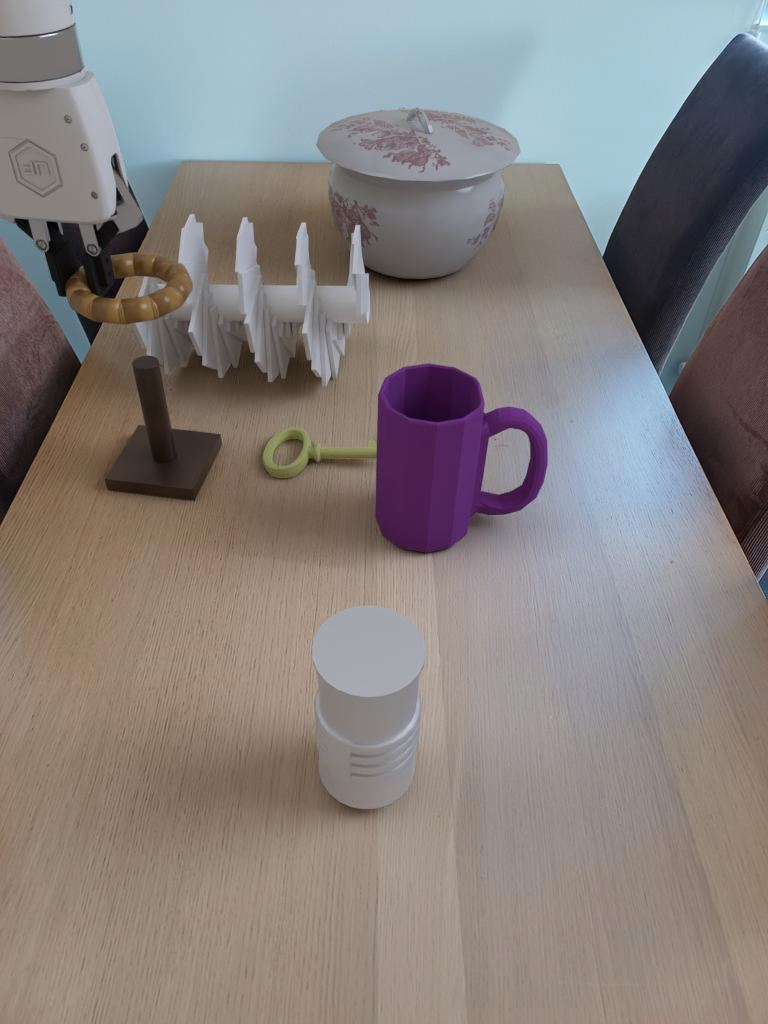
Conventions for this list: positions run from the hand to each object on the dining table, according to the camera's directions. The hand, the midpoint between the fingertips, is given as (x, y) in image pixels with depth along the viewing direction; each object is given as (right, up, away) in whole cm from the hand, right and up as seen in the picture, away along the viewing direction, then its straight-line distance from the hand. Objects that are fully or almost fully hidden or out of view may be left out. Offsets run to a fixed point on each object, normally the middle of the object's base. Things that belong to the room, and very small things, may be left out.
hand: (86, 289), depth 70 cm
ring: (+4, 0, -1) cm, 4 cm away
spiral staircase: (+11, -2, +27) cm, 29 cm away
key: (+19, -14, +14) cm, 28 cm away
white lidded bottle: (+25, -39, -12) cm, 47 cm away
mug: (+33, -20, +8) cm, 39 cm away
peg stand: (+4, -15, +13) cm, 20 cm away
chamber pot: (+30, +18, +50) cm, 61 cm away
